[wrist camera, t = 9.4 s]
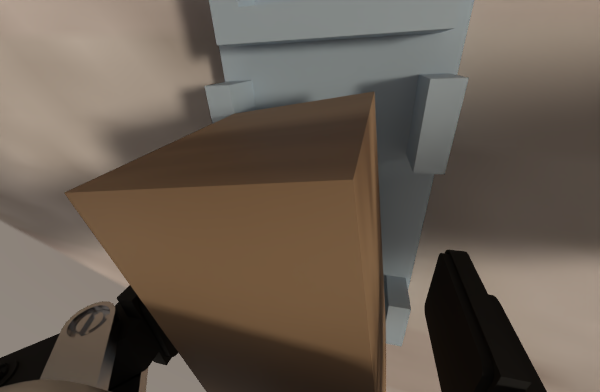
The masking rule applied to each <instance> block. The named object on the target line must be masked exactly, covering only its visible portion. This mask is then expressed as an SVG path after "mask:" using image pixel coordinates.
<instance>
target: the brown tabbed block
mask: <svg viewBox="0 0 600 392" xmlns="http://www.w3.org/2000/svg"><path fill="white" fill-rule="evenodd" d="M65 195H66V196H67V198H68V199H69V200H70V202H71V203H72V205H73V206H74V207H75V209H76V210H77V212H78V213H79V214H80V216H81V217H82V218H83V220H84V221H85V223H86V224H87V225H88V227H89V228H90V230H91V231H92V232H93V234H94V235H95V237H96V238H97V239H98V241H99V242H100V244H101V245H102V246H103V248H104V249H105V251H106V252H107V253H108V255H109V256H110V258H111V259H112V260H113V262H114V263H115V265H116V266H117V267H118V269H119V270H120V272H121V273H122V274H123V276H124V277H125V278H126V280H127V281H128V283H129V284H130V285H131V287H132V288H133V290H134V291H135V292H136V294H137V295H138V297H139V298H140V299H141V301H142V302H143V304H144V305H145V306H146V308H147V309H148V311H149V312H150V313H151V315H152V316H153V318H154V319H155V320H156V322H157V323H158V325H159V326H160V327H161V329H162V330H163V332H164V333H165V334H166V336H167V337H168V338H169V340H170V341H171V343H172V344H173V345H174V347H175V348H176V350H177V351H178V352H179V354H180V355H181V357H182V358H183V359H184V361H185V362H186V364H187V365H188V366H189V368H190V369H191V371H192V372H193V373H194V375H195V376H196V378H197V379H198V380H199V382H200V383H201V385H202V386H203V387H204V389H205V390H206V391H207V392H386V319H385V298H384V277H383V257H382V236H381V216H380V195H379V174H378V154H377V133H376V113H375V92H367V93H361V94H355V95H348V96H342V97H336V98H330V99H323V100H317V101H311V102H304V103H298V104H292V105H286V106H279V107H273V108H267V109H260V110H254V111H248V112H241V113H235V114H232V115H230V116H228V117H226V118H224V119H222V120H219V121H217V122H215V123H213V124H211V125H209V126H207V127H204V128H202V129H200V130H198V131H196V132H194V133H192V134H189V135H187V136H185V137H183V138H181V139H179V140H177V141H174V142H172V143H170V144H168V145H166V146H164V147H161V148H159V149H157V150H155V151H153V152H151V153H149V154H146V155H144V156H142V157H140V158H138V159H136V160H134V161H131V162H129V163H127V164H125V165H123V166H121V167H119V168H116V169H114V170H112V171H110V172H108V173H106V174H104V175H101V176H99V177H97V178H95V179H93V180H91V181H89V182H86V183H84V184H82V185H80V186H78V187H76V188H73V189H71V190H69V191H67V192H65Z"/></svg>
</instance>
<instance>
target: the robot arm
mask: <svg viewBox="0 0 600 392" xmlns="http://www.w3.org/2000/svg"><path fill="white" fill-rule="evenodd" d="M117 299H118V301H119V302H118V303H117V304H116V305H115V306H114V304H113V303H111V302H103V301H102V302H98V303H94V304H91V305H89V306H87V307H85V308H83V309H81V310H80V311H78V312H77V313H76V314H74V315H73V316H72V317H71V318H70V319H69V320H68V321H67V322H66V323H65V325H64V326H63V328H62V329H61V332H60V333H59V334H57V335H55V336H52V337H50V338H47V339H45V340H42V341H40V342H38V343H35V344H33V345H31V346H28V347H26V348H23V349H21V350H18V351H16V352H13V353H11V354H9V355H6V356H4V357H1V358H0V392H146V384H147V374H148V366H149V365H150V364H151V362H152V361H154V362H156V363H160V364H163V365H167V364H168V362H169V361H170V359H171V358H172V357H174V356H175V355H177V354H178V351H177V350H176V348H175V347H174V345H173V344H172V343H171V341H170V340H169V338H168V337H167V336H166V334H165V333H164V332H163V330H162V329H161V327H160V326H159V325H158V323H157V322H156V320H155V319H154V318H153V316H152V315H151V313H150V312H149V311H148V309H147V308H146V306H145V305H144V304H143V302H142V301H141V299H140V298H139V297H138V295H137V294H136V292H135V291H134V290H133V288H132V287H131V285H130V286H129V287H128V288H126V289H125V290H124V292H123V293H121V294H120V295H119V296H118V297H117ZM425 317H426V321H427V326H428V331H429V335H430V340H431V345H432V349H433V354H434V359H435V363H436V368H437V372H438V377H439V382H440V386H441V391H442V392H547V391H546V389H545V388H544V386H543V384H542V382H541V380H540V378H539V376H538V374H537V372H536V370H535V369H534V367H533V365H532V363H531V361H530V359H529V357H528V355H527V353H526V351H525V350H524V348H523V346H522V344H521V342H520V340H519V338H518V336H517V334H516V332H515V331H514V329H513V327H512V325H511V323H510V321H509V319H508V317H507V315H506V313H505V312H504V310H503V308H502V306H501V304H500V302H499V301H498V299H497V298H496V297H495V296H493V295H488V293H487V291H486V289H485V287H484V285H483V283H482V281H481V279H480V277H479V275H478V273H477V271H476V269H475V267H474V265H473V263H472V261H471V259H470V257H469V255H468V254H467V252H464V251H455V250H446V252H445V254H444V253H440V254H439V257H438V260H437V264H436V267H435V271H434V274H433V278H432V281H431V285H430V288H429V292H428V295H427V299H426V302H425Z"/></svg>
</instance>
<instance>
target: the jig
mask: <svg viewBox="0 0 600 392" xmlns="http://www.w3.org/2000/svg"><path fill="white" fill-rule="evenodd" d="M473 3H474V0H209V4H210V10H211V15H212V21H213V27H214V32H215V38H216V44H217V45H219V49H220V55H221V61H222V66H223V72H224V78H225V82H223V83H218V84H212V85H207V86H205V91H206V96H207V100H208V105H209V110H210V115H211V119H212V124H213V123H215V122H217V121H219V120H222V119H224V118H226V117H228V116H230V115H232V114H235V113H241V112H248V111H254V110H260V109H267V108H273V107H279V106H286V105H292V104H298V103H304V102H311V101H317V100H323V99H330V98H336V97H342V96H348V95H355V94H361V93H367V92H375V113H376V133H377V154H378V174H379V195H380V216H381V236H382V257H383V277H384V298H385V319H386V343H387V344H392V345H397V346H402V343H403V339H404V335H405V331H406V327H407V323H408V319H409V315H410V311H411V307H410V301H409V295H408V288H409V283H410V279H411V275H412V270H413V266H414V261H415V257H416V253H417V248H418V244H419V240H420V235H421V231H422V226H423V222H424V218H425V213H426V209H427V205H428V200H429V196H430V191H431V187H432V183H433V178H434V174H445V171H446V167H447V163H448V159H449V155H450V151H451V147H452V143H453V139H454V135H455V131H456V127H457V123H458V119H459V115H460V111H461V107H462V103H463V99H464V95H465V91H466V87H467V83H468V79H469V78H468V77H463V76H459V75H457V73H458V69H459V65H460V60H461V56H462V52H463V47H464V43H465V38H466V34H467V30H468V25H469V21H470V17H471V12H472V8H473Z"/></svg>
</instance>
